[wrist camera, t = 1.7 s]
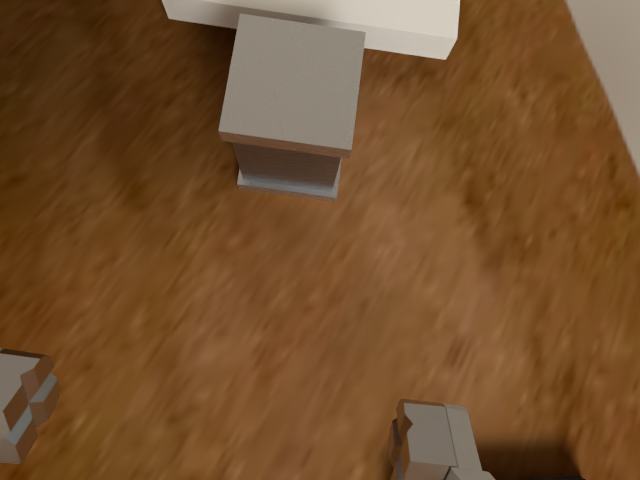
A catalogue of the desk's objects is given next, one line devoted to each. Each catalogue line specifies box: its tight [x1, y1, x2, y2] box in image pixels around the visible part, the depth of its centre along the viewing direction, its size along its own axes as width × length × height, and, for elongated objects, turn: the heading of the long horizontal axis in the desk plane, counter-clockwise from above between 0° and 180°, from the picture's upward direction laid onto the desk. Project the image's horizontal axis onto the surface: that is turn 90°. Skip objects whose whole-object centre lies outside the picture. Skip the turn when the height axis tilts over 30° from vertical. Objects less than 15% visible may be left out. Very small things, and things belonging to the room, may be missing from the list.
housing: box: [218, 13, 366, 203], centre depth 25 cm, size 6×6×8 cm
